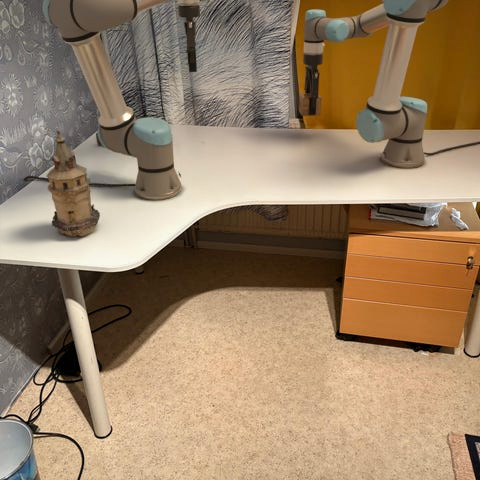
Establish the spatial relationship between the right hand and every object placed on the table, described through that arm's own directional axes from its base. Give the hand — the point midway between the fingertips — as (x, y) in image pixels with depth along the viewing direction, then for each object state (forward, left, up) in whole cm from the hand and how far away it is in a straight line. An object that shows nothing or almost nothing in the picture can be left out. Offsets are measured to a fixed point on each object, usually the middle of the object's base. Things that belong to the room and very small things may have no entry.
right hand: (310, 112), depth 218 cm
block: (0, 0, -1) cm, 1 cm away
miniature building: (+108, +13, -11) cm, 109 cm away
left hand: (+45, -17, +21) cm, 52 cm away
